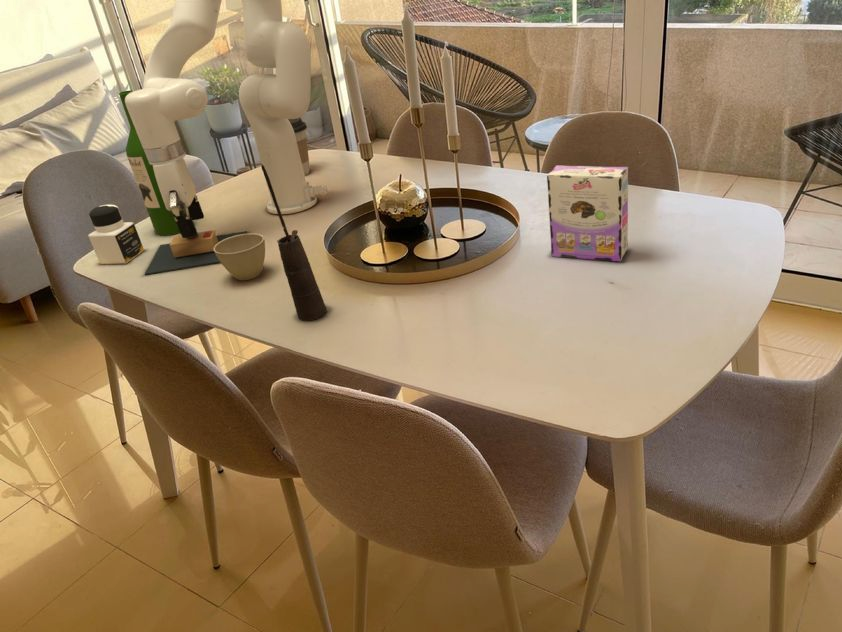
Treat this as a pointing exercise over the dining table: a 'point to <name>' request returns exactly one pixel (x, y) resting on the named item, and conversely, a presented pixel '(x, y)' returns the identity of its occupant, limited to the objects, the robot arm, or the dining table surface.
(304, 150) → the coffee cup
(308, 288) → the butter churn
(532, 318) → the dining table surface
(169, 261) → the desk mat
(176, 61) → the robot arm
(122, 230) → the medicine bottle
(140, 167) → the wine bottle
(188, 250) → the stamp
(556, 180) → the candy box
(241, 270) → the beige bowl
